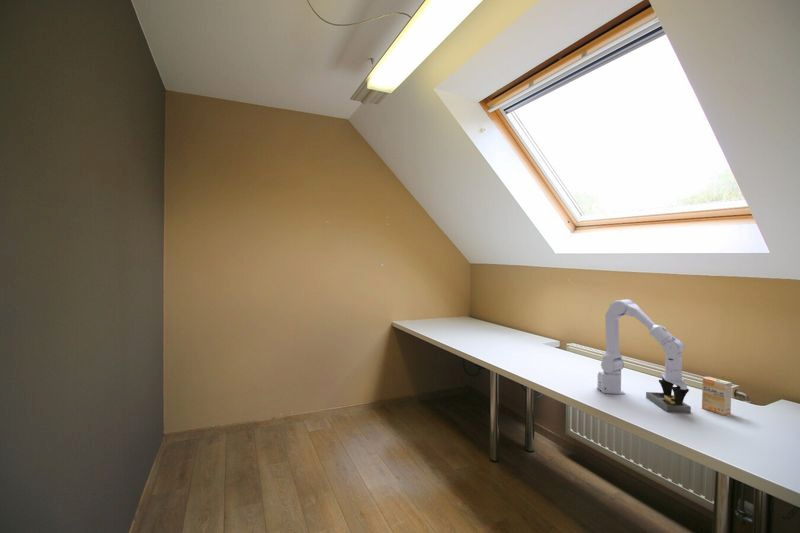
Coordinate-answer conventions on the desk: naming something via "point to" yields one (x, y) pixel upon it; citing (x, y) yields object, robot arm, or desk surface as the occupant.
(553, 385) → the desk surface
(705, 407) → the supplement box
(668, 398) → the nut block
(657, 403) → the grey metal flat frame
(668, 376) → the robot arm
